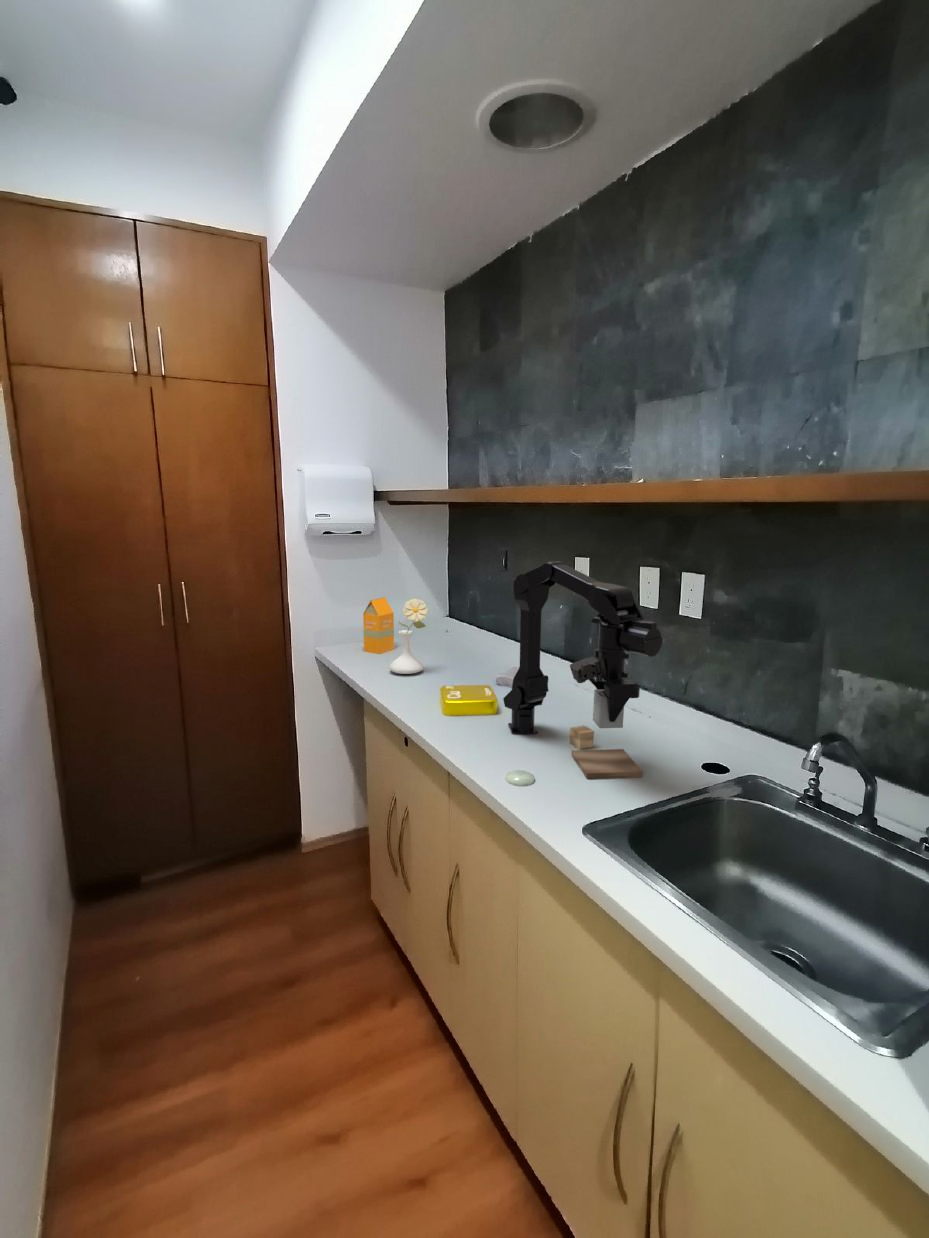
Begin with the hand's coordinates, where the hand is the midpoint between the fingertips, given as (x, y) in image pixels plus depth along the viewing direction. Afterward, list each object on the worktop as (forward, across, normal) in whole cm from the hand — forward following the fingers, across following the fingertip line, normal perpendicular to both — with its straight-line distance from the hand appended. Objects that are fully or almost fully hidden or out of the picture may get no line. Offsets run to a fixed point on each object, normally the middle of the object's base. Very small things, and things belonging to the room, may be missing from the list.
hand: (607, 717), depth 134 cm
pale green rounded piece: (+12, +5, -20) cm, 24 cm away
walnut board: (+11, 0, 0) cm, 11 cm away
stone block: (+12, -63, -8) cm, 64 cm away
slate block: (+2, 0, 0) cm, 2 cm away
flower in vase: (+12, -78, -42) cm, 89 cm away
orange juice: (+12, -109, -53) cm, 122 cm away
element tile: (+12, -42, -26) cm, 51 cm away
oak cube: (+11, -12, -2) cm, 17 cm away
